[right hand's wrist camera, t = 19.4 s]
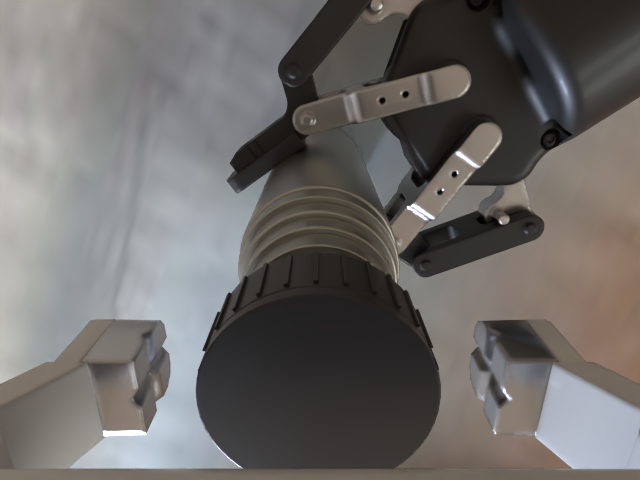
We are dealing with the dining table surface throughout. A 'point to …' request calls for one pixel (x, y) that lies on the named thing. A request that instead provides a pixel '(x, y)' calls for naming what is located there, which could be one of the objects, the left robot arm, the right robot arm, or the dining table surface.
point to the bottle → (320, 209)
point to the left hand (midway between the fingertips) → (274, 230)
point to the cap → (318, 368)
